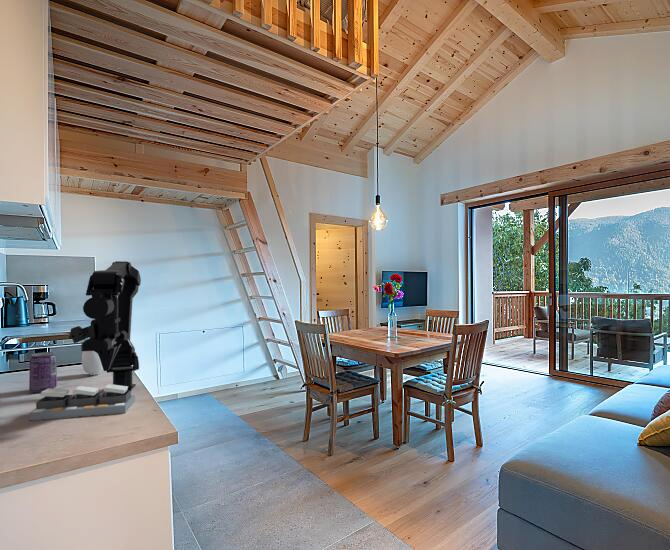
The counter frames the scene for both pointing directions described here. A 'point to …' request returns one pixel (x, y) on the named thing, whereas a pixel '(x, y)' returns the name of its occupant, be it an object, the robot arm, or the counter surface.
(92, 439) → the counter surface
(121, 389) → the right rocker
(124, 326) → the robot arm
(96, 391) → the middle rocker
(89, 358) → the sauce bottle
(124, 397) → the switch panel
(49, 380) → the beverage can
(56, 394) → the left rocker
